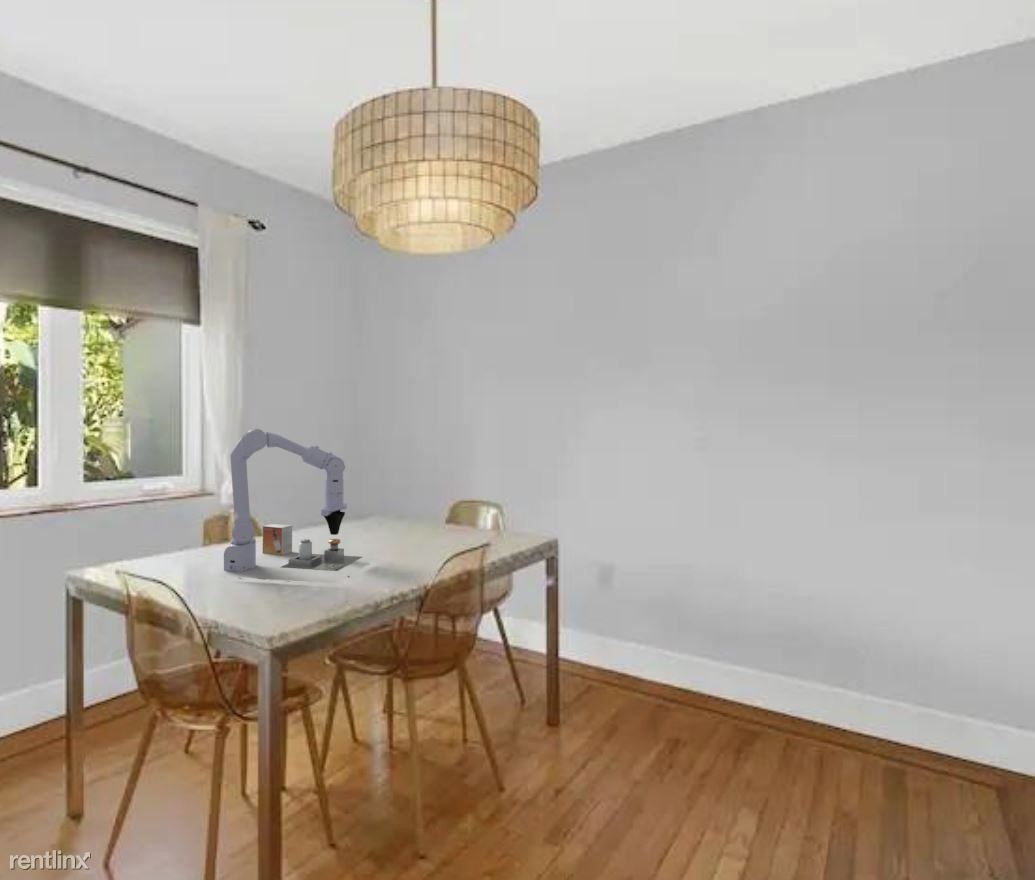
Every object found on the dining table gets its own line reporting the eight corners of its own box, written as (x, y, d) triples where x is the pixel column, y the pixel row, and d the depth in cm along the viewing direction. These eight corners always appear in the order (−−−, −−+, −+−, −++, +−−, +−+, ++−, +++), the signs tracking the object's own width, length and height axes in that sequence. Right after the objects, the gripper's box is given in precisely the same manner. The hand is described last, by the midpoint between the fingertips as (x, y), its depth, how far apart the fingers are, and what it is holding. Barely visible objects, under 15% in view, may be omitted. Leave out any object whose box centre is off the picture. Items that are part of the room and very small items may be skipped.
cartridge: (308, 564, 204) (308, 541, 204) (296, 563, 205) (296, 541, 204) (314, 561, 208) (314, 539, 208) (302, 560, 209) (302, 538, 208)
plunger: (337, 554, 209) (337, 541, 209) (326, 553, 209) (326, 540, 209) (342, 551, 213) (342, 539, 212) (331, 551, 213) (331, 538, 213)
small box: (262, 556, 218) (262, 525, 218) (273, 553, 224) (273, 523, 223) (281, 558, 216) (281, 527, 215) (292, 555, 221) (292, 524, 221)
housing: (337, 574, 197) (337, 560, 196) (280, 571, 200) (280, 557, 200) (362, 560, 215) (362, 547, 215) (309, 557, 218) (309, 544, 218)
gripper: (336, 496, 202) (336, 539, 203) (355, 490, 217) (355, 530, 217) (315, 495, 203) (315, 538, 204) (335, 489, 218) (335, 529, 218)
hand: (334, 534), depth 211 cm, fingers closed
